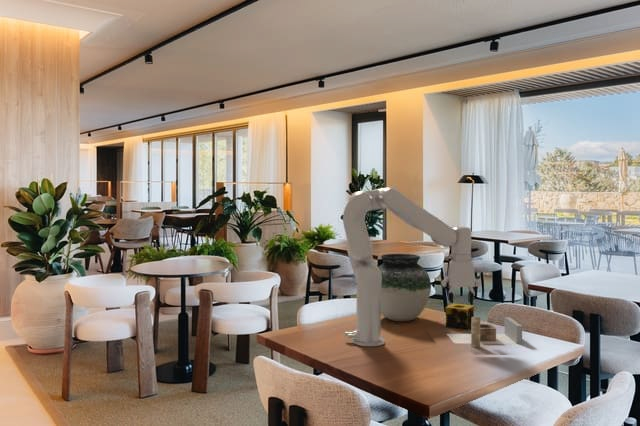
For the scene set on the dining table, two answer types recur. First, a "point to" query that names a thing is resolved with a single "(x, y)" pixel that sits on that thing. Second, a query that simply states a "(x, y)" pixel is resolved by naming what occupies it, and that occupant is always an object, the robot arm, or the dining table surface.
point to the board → (510, 337)
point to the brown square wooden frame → (487, 332)
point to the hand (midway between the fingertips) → (460, 302)
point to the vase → (403, 287)
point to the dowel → (475, 332)
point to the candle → (459, 316)
